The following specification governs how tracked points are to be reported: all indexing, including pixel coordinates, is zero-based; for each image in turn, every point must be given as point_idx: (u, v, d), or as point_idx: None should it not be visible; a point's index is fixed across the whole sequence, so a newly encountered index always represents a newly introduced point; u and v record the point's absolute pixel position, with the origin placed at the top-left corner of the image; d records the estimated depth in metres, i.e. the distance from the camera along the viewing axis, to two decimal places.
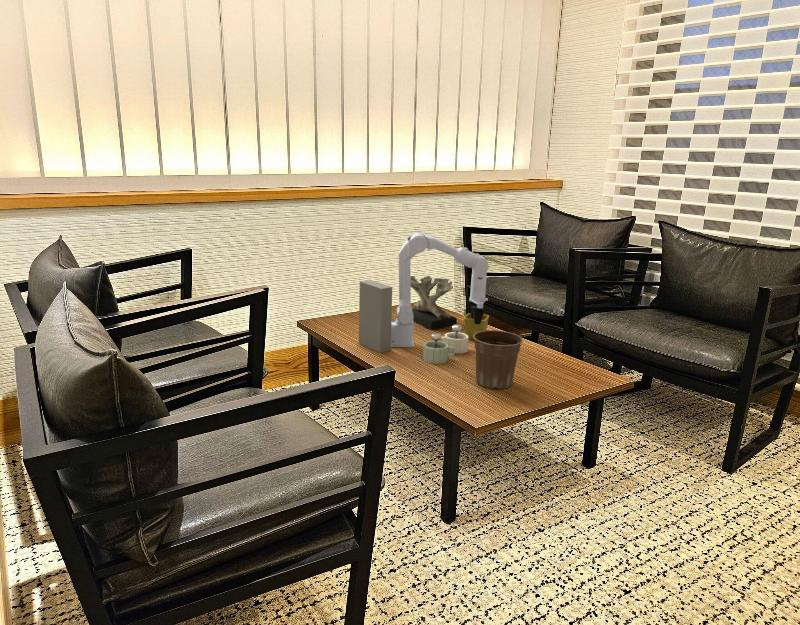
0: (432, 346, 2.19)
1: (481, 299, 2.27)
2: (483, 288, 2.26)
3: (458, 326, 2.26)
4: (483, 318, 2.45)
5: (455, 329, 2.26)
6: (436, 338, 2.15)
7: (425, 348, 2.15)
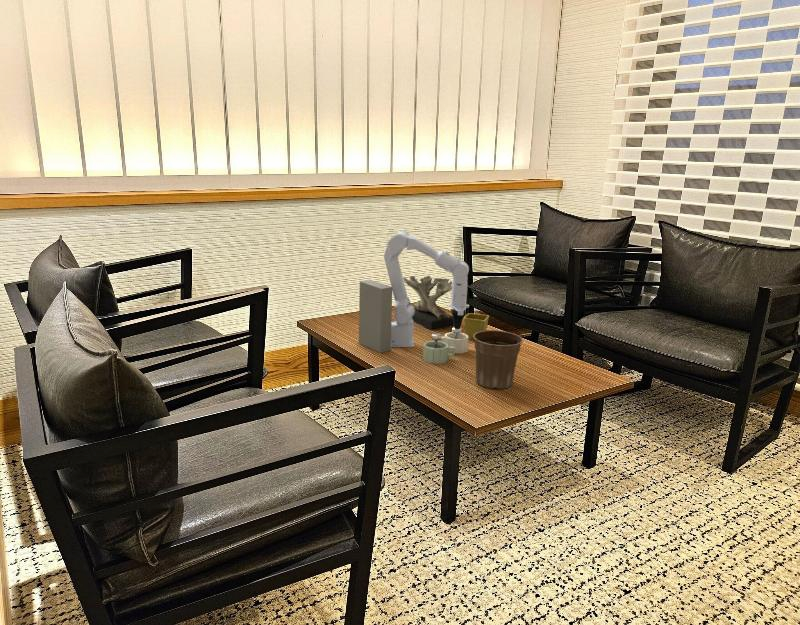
0: (432, 346, 2.19)
1: (462, 306, 2.22)
2: (464, 295, 2.21)
3: None
4: (483, 318, 2.45)
5: (455, 331, 2.26)
6: (436, 338, 2.15)
7: (425, 348, 2.15)
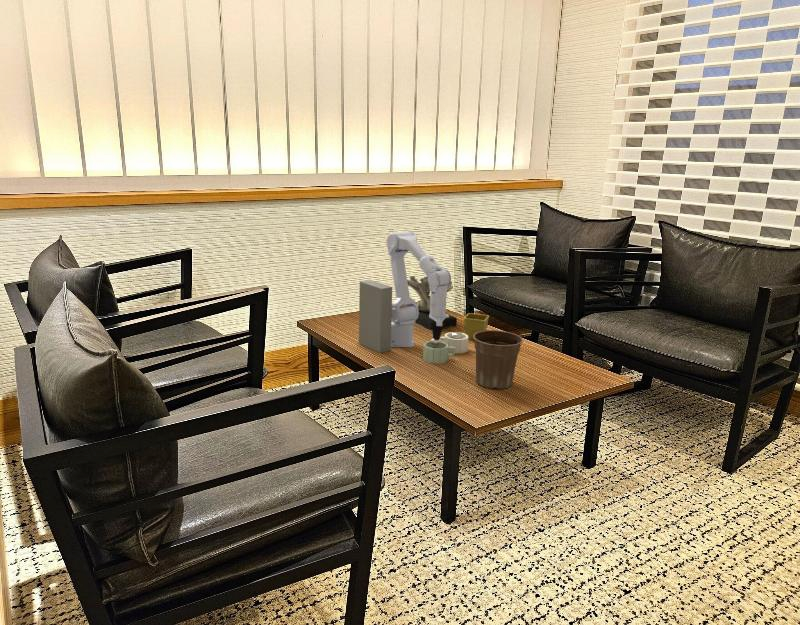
0: None
1: (441, 316, 2.11)
2: (443, 304, 2.10)
3: (458, 334, 2.27)
4: (483, 318, 2.45)
5: (455, 337, 2.27)
6: (436, 342, 2.15)
7: (425, 348, 2.15)
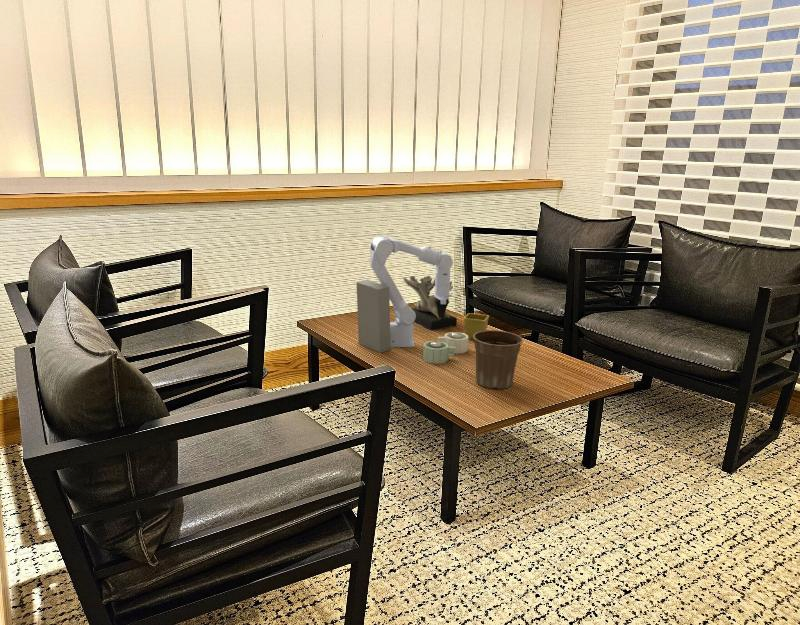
0: None
1: (445, 295, 2.29)
2: (447, 284, 2.28)
3: (458, 334, 2.27)
4: (483, 318, 2.45)
5: (455, 337, 2.27)
6: (436, 346, 2.15)
7: (425, 348, 2.15)
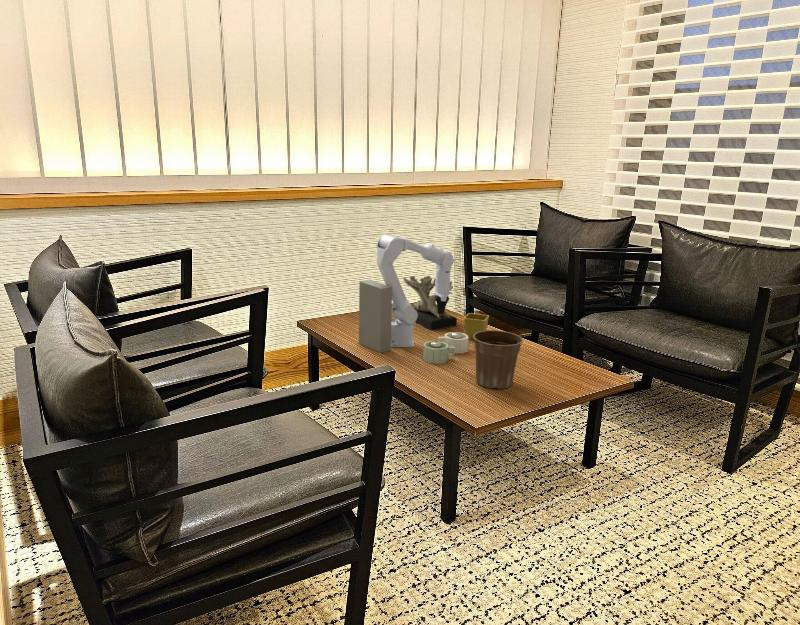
0: None
1: (445, 292, 2.34)
2: (447, 282, 2.33)
3: (458, 334, 2.27)
4: (483, 318, 2.45)
5: (455, 337, 2.27)
6: (436, 346, 2.15)
7: (425, 348, 2.15)
